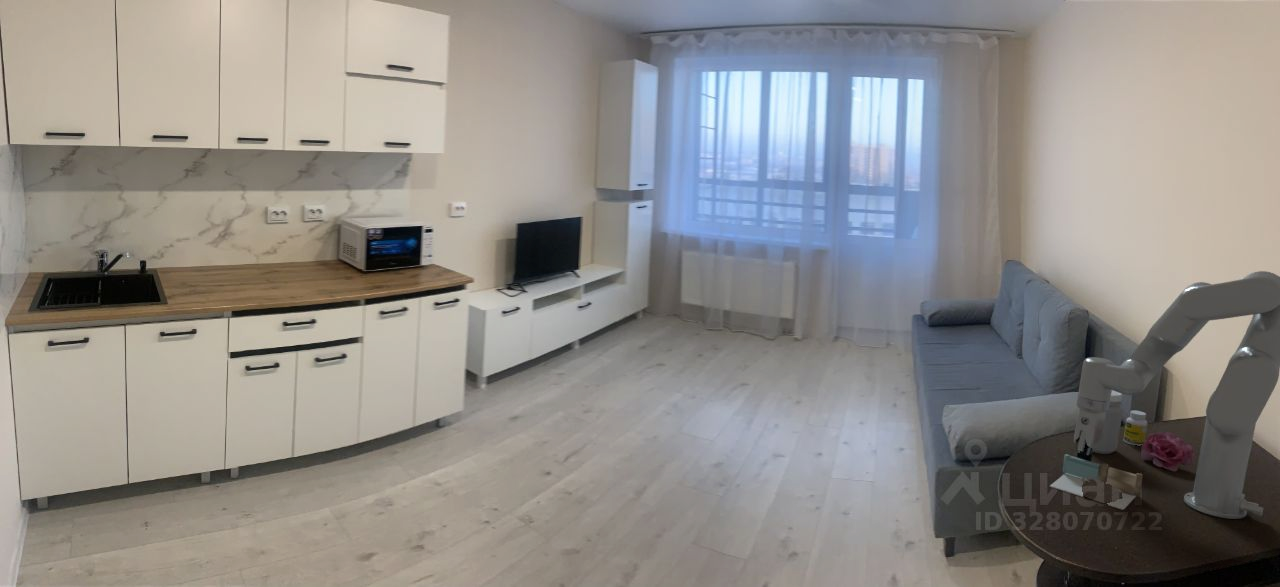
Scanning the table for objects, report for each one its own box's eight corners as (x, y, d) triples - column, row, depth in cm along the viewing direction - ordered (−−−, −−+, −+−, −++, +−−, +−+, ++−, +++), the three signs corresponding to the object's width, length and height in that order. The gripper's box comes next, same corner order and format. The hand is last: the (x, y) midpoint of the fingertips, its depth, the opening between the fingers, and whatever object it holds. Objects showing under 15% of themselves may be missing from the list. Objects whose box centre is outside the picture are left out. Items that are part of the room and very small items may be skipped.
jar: (1070, 444, 228) (1079, 387, 225) (1094, 440, 232) (1102, 384, 228) (1100, 456, 219) (1109, 397, 216) (1124, 452, 223) (1133, 394, 219)
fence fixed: (1139, 496, 195) (1143, 474, 193) (1138, 497, 194) (1141, 476, 192) (1099, 483, 201) (1102, 462, 200) (1097, 485, 200) (1100, 464, 199)
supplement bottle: (1119, 440, 232) (1123, 410, 230) (1130, 438, 234) (1135, 408, 232) (1136, 447, 227) (1141, 416, 225) (1148, 444, 229) (1153, 414, 228)
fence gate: (1098, 480, 201) (1100, 463, 200) (1096, 482, 200) (1099, 465, 199) (1063, 470, 207) (1065, 453, 206) (1061, 471, 206) (1063, 455, 206)
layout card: (1140, 492, 197) (1140, 490, 197) (1123, 510, 187) (1123, 508, 187) (1069, 471, 209) (1069, 469, 209) (1049, 486, 199) (1050, 485, 199)
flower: (1178, 484, 210) (1165, 457, 208) (1146, 472, 220) (1132, 446, 217) (1206, 458, 212) (1193, 432, 209) (1172, 447, 221) (1159, 422, 219)
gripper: (1099, 413, 196) (1089, 478, 200) (1116, 401, 206) (1106, 463, 210) (1068, 405, 202) (1058, 469, 205) (1086, 393, 212) (1076, 455, 215)
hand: (1082, 466), depth 208 cm, fingers closed
